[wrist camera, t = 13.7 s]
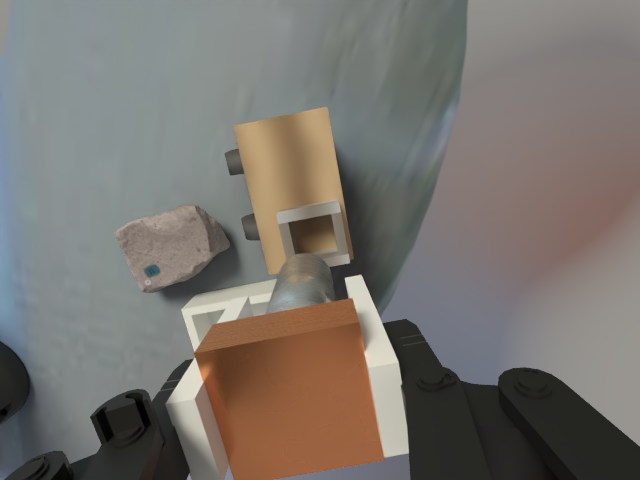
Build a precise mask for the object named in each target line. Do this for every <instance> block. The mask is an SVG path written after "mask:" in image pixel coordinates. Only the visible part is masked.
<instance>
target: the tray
mask: <svg viewBox="0 0 640 480" xmlns="http://www.w3.org/2000/svg"><path fill="white" fill-rule="evenodd" d="M276 280H277V279H274V280H269V281H264V282H258V283H253V284H248V285H242V286H237V287H232V288H226V289H221V290H215V291H210V292H205V293H199V294H196V295H195V296H194V297H193V298H192V299H191V300H190V301H189V302H188V303H187V304H186V305H185V306H184V307H183V308H182V309H181V310H182V313H183V316H184V320H185V323H186V326H187V329H188V332H189V335H190V339H191V342H192V345H193V348H194V351H196V349H197V348H198V346H199V345H200V343H201V342H202V340H203V339H204V337H205V336H206V334H207V333H208V331H209V330H210V328H211V327H212V325H213V324H216V323H217V322H218V320H219V319H220V317H221V316H222V314H223V313H224V311H225V309H226V308H227V306H228V305H229V303H230V302H231V300H232V299H235V298H240V297H246V296H249V300H250V304H251V307H252V311H253V315H254V316H259V315H264V314H265V312H266V309H267V306H268V303H269V301H270V298H271V295H272V292H273V289H274V286H275V283H276Z"/></svg>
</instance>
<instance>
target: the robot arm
mask: <svg viewBox="0 0 640 480" xmlns="http://www.w3.org/2000/svg"><path fill="white" fill-rule="evenodd" d="M345 282H346V288H347V293H348V299H349V298H353V301H354V305H355V308H356V312H357V315H358V319H359V322H360V327H361V333H362V338H363V344H364V349H365V352H364V354H365V360H366V365H367V371H368V376H369V382H370V387H371V393H372V398H373V404H374V409H375V415H376V420H377V426H378V431H379V437H380V441H381V445H382V449H383V453H384V457H390V456H395V455H401V454H407V453H409V461H410V476H411V480H640V446H638V445H637V444H636V443H635V442H633V441H632V440H631V439H630V438H629V437H628V436H626V435H625V434H624V433H623V432H622V431H621V430H619V429H618V428H617V427H615V425H613V424H612V423H611V422H610V421H609V420H607V419H606V418H605V417H604V416H603V415H601V414H600V413H599V412H598V411H597V410H596V409H594V408H593V407H592V406H591V405H590V404H588V403H587V402H586V401H585V400H584V399H583V398H581V397H580V396H579V395H578V394H577V393H575V392H574V391H573V390H572V389H571V388H570V387H568V386H567V385H566V384H565V383H564V382H562V381H561V380H559V379H558V378H556V377H555V376H553V375H552V374H549V373H546V372H544V371H541V370H538V369H531V368H513V369H510V370H507V371H505V372H503V373H502V375H500V376H499V381H498V386H496V385H495V386H494V385H479V384H471V383H467V382H463V381H460V379H459V378H458V376H457V374H455V373H454V372H453V371H451V370H450V369H448V368H445V367H442V365H441V363H440V362H439V360H438V359H437V357H436V356H435V354H434V352H433V351H432V349H431V348H430V346H429V345H428V343H427V342H426V340H425V338H424V337H423V335H422V334H421V332H420V330H419V329H418V327H417V326H416V325H415V324H413V323H412V322H410V321H408V320H407V319H403V320H397V321H392V322H387V323H382V322H381V320H380V317H379V315H378V313H377V310H376V308H375V306H374V303H373V301H372V299H371V296H370V294H369V291H368V289H367V287H366V284H365V282H364V280H363V277H362V275H357V276H352V277H347V278H345ZM253 316H254V315H253V311H252V307H251V304H250V300H249V296H246V297H240V298H235V299H232V300H231V302H230V303H229V305H228V306H227V308H226V309H225V311H224V313H223V314H222V316H221V317H220V319H219V320H218V322H217V323H222V322H227V321H232V320H237V319H243V318H248V317H253ZM28 390H29V383H28V377H27V374H26V371H25V369H24V367H23V365H22V363H21V362H20V360H19V359H18V358H17V356H16V355H15V354H14V353H13V352H12V351H11V350H10V349H9V348H7V347H6V346H5V345H3V344H2V343H0V424H2V423H3V422H5V421H6V420H7V419H9V418H10V417H11V416H12V415H14V414H15V413H16V412H17V411H18V410H19V409H20V408H21V407H22V406H23V404H24V403H25V401H26V399H27V396H28ZM90 418H91V420H92V423H93V425H94V427H95V430H96V432H97V435H98V437H99V439H100V442H101V444H102V445H101V447H100V449H99V451H98V452H97V454H94V455H92V456H89V457H87V458H84V459H82V460H79V461H77V462H74V463H72V464H69V461H68V459H67V457H66V455H65V454H64V453H63V452H62V451H53V452H49V453H46V454H43V455H40V456H37V457H36V458H33V459H31V460H29V461H28V462H26V463H25V464H24V465H23V466H21V467H20V468H18V469H17V470H15V471H14V472H13V473H12V474H11V475H9V476H8V477H7V478H6V479H5V480H186V479H187V477H188V475H189V473H190V476H191V479H192V480H224V478H225V475H226V472H227V468H228V465H229V460H228V457H227V454H226V451H225V448H224V445H223V441H222V438H221V435H220V432H219V429H218V425H217V422H216V419H215V416H214V413H213V409H212V406H211V403H210V400H209V397H208V393H207V390H206V387H205V384H204V381H203V380H202V377H201V374H200V371H199V367H198V364H197V361H196V358H194V359H191V360H185V361H184V362H183V363H182V364H181V365H180V366H178V367H177V368H176V369H175V370H174V371H173V372H172V374H171V375H170V376H169V378H168V379H167V382H166V383H165V384H164V385H163V386H162V388H161V391H159V392H158V394H157V395H156V396H155V398H154V399H153V401H152V402H151V399H150V396H149V394H148V392H147V391H146V390H142V389H136V390H131V391H127V392H125V393H122V394H120V395H117V396H116V397H114V398H112V399H110V400H108V401H107V402H105V403H104V404H103V405H102V406H100V407H99V408H98V409H97V410H96V411H95V412H94V413H93V414H92V415H91V416H90Z"/></svg>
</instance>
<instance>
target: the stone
mask: <svg viewBox="0 0 640 480" xmlns="http://www.w3.org/2000/svg"><path fill="white" fill-rule="evenodd" d="M115 236H116V238H117V239H118V242H119V244H120V247H121V248H122V252H123V254H124V256H125V260H126V263H127V265H128V266H129V268H130V270H131V273H132V274H133V276H134V278H135V279H136V280H137V282H138V286H139V288H140V290H141V291H142V292H145V293H153V292H158V291H159V290H161V289H163V288H165V287H167V286H169V285H172V284H175V283H178V282H184V281H186V280H188V279H190V278H191V277H194V276H195V275H196V274H198V273H199V272H200V271H202V270H203V268H204V267H205V266H206V265H207V264H208V263H209V262H210V261H211V260H212V258H213V257H214V256H216V255H217V254H218V253H220V252H222V251H225V250H227V249H228V248H229V247H230V242H229V240H228V239H227V237H226V235H225V233H224V231H223V229H222V227H221V225H220V224H219V223H217V221H216V220H215V219H213V218H212V217H211V216H209V215H208V214H207V213H206V212H205V211H204V210H203V209H201V208H199V207H198V206H195V205H193V206H192V205H188V206H180V207H178V208H176V209H174V210H171V211H167V212H163V213H158V214H157V215H153V216H146V217H143V218H139V219H136V220H133V221H131V222H129V223H127V224H126V225H124V226H123V227H121V228H120V229H118V230H116V231H115Z"/></svg>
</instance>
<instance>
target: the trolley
mask: <svg viewBox="0 0 640 480" xmlns="http://www.w3.org/2000/svg"><path fill="white" fill-rule="evenodd" d="M233 128H234V132H235V136H236V140H237V145H238V149H235V150H232V151H229V152H226V153H225V157H226V161H227V165H228V169H229V173H230V175H238V174H245V178H246V182H247V186H248V190H249V194H250V198H251V202H252V207H253V211H254V213H253V214H250V215H247V216H245V217H243V218H241V220H242V224H243V228H244V232H245V236H246V239H247V240H261V244H262V248H263V252H264V256H265V260H266V265H267V269H268V273H269V275H271V274H277V273H279V272H280V269H281V267H282V265H283V264H284V262H285V261H286V260H287V259H289V258H290V257H292V256H294V255H296V254H301V253H309V254H314V255H316V256H318V257H320V258H322V259H323V260H324V261H325V262H326V263H327V265H328V266H329V267H332V266H338V265H343V264H348V263H350V260H352V259H354V256H353V250H352V244H351V239H350V233H349V227H348V222H347V216H346V211H345V205H344V199H343V194H342V188H341V182H340V177H339V171H338V165H337V160H336V154H335V148H334V143H333V137H332V131H331V126H330V120H329V114H328V109H327V107H323V108H318V109H313V110H308V111H304V112H299V113H294V114H289V115H284V116H279V117H274V118H270V119H265V120H260V121H255V122H250V123H245V124H240V125H236V126H233Z"/></svg>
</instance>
